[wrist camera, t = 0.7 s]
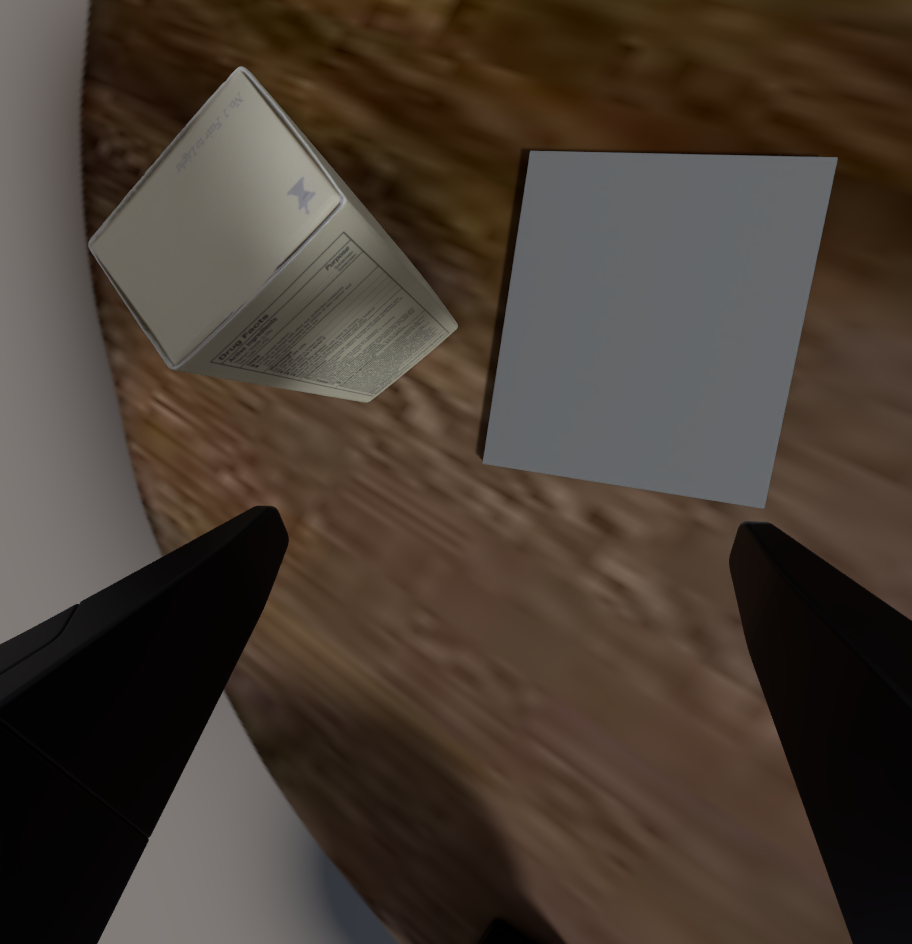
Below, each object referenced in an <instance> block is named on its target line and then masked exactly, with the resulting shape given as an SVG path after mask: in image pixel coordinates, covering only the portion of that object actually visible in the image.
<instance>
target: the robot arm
mask: <svg viewBox="0 0 912 944" xmlns="http://www.w3.org/2000/svg"><path fill="white" fill-rule="evenodd" d="M288 542H289V537H288V533H287V530H286V528H285V526H284V523H283V521H282V518H281V516H280V514H279V511H278V510H277V509H276V508H275V507H273V506H255V507H253V508H251V509H249V510H247V511H245V512H244V513H242V514H240V515H238V516H236V517H234V518H233V519H231V520H229V521H227V522H225V523H223V524H222V525H220V526H218V527H216V528H214V529H213V530H211V531H209V532H207V533H205V534H203V535H202V536H200V537H198V538H196V539H194V540H192V541H191V542H189V543H187V544H185V545H183V546H182V547H180V548H178V549H176V550H174V551H172V552H171V553H169V554H167V555H165V556H163V557H161V558H160V559H158V560H156V561H154V562H152V563H151V564H149V565H147V566H145V567H143V568H141V569H140V570H138V571H136V572H134V573H132V574H131V575H129V576H127V577H125V578H123V579H121V580H119V581H118V582H116V583H114V584H113V585H111V586H109V587H107V588H105V589H103V590H101V591H99V592H98V593H96V594H94V595H92V596H90V597H88V598H87V599H85V600H83V601H81V602H80V604H76V605H74V606H72V607H70V608H68V609H66V610H65V611H63V612H61V613H59V614H57V615H55V616H54V617H52V618H50V619H48V620H46V621H44V622H43V623H41V624H39V625H37V626H35V627H33V628H31V629H29V630H27V631H25V632H24V633H22V634H20V635H18V636H16V637H14V638H12V639H10V640H8V641H6V642H4V643H2V644H0V944H97V943H98V941H99V939H100V937H101V935H102V933H103V931H104V929H105V927H106V925H107V923H108V921H109V919H110V917H111V915H112V913H113V911H114V909H115V907H116V905H117V903H118V901H119V899H120V897H121V895H122V893H123V891H124V889H125V887H126V885H127V883H128V881H129V879H130V877H131V875H132V873H133V871H134V869H135V867H136V865H137V863H138V861H139V859H140V857H141V855H142V853H143V851H144V849H145V847H146V845H147V843H148V841H149V839H148V838H149V837H150V836H151V834H152V832H153V830H154V828H155V826H156V824H157V822H158V820H159V818H160V816H161V814H162V812H163V810H164V808H165V806H166V804H167V802H168V800H169V798H170V796H171V794H172V792H173V790H174V788H175V786H176V784H177V782H178V780H179V778H180V776H181V774H182V772H183V770H184V768H185V766H186V764H187V762H188V760H189V758H190V756H191V754H192V752H193V750H194V748H195V746H196V744H197V742H198V740H199V738H200V736H201V734H202V732H203V730H204V728H205V726H206V724H207V722H208V720H209V718H210V716H211V714H212V712H213V710H214V708H215V706H216V704H217V702H218V700H219V698H220V696H221V694H222V692H223V690H224V688H225V686H226V684H227V682H228V680H229V678H230V676H231V674H232V672H233V670H234V668H235V666H236V664H237V662H238V660H239V658H240V656H241V654H242V652H243V650H244V648H245V646H246V644H247V642H248V640H249V638H250V636H251V634H252V632H253V630H254V628H255V626H256V624H257V622H258V620H259V618H260V616H261V613H262V611H263V609H264V607H265V604H266V602H267V600H268V597H269V595H270V592H271V589H272V587H273V584H274V581H275V579H276V576H277V573H278V571H279V568H280V565H281V563H282V560H283V557H284V555H285V552H286V550H287V547H288ZM729 567H730V572H731V577H732V581H733V586H734V590H735V595H736V599H737V604H738V608H739V613H740V617H741V621H742V626H743V630H744V635H745V639H746V643H747V647H748V650H749V653H750V656H751V659H752V663H753V665H754V668H755V671H756V674H757V677H758V679H759V682H760V685H761V688H762V691H763V693H764V696H765V699H766V702H767V705H768V707H769V710H770V713H771V716H772V719H773V721H774V724H775V727H776V730H777V733H778V735H779V738H780V741H781V744H782V747H783V749H784V752H785V755H786V758H787V761H788V763H789V766H790V769H791V772H792V775H793V777H794V780H795V783H796V786H797V789H798V791H799V794H800V797H801V800H802V803H803V805H804V808H805V811H806V814H807V817H808V819H809V822H810V825H811V828H812V831H813V833H814V836H815V839H816V842H817V845H818V848H819V850H820V853H821V856H822V859H823V862H824V864H825V867H826V870H827V873H828V876H829V878H830V881H831V884H832V887H833V890H834V892H835V895H836V898H837V901H838V904H839V906H840V909H841V912H842V915H843V918H844V920H845V923H846V926H847V929H848V932H849V934H850V937H851V940H852V943H853V944H912V621H911V620H910V619H908V618H907V617H905V616H904V615H903V614H901V613H900V612H898V611H897V610H895V609H894V608H892V607H891V606H890V605H888V604H887V603H885V602H884V601H882V600H881V599H879V598H878V597H877V596H875V595H874V594H872V593H871V592H869V591H868V590H866V589H865V588H864V587H862V586H861V585H859V584H858V583H856V582H855V581H853V580H852V579H851V578H849V577H848V576H846V575H845V574H843V573H842V572H840V571H839V570H838V569H836V568H835V567H833V566H832V565H830V564H829V563H828V562H826V561H825V560H823V559H822V558H820V557H819V556H817V555H816V554H815V553H813V552H812V551H810V550H809V549H807V548H806V547H804V546H803V545H802V544H800V543H799V542H797V541H796V540H794V539H793V538H791V537H790V536H789V535H787V534H786V533H784V532H783V531H781V530H780V529H778V528H777V527H776V526H774V525H773V524H771V523H768V522H752V521H745V522H743V523H741V524H740V526H739V528H738V531H737V534H736V537H735V540H734V543H733V547H732V550H731V553H730V557H729ZM498 932H499V933H502V934H499V933H498ZM478 944H535V943H533V942H532V941H531V940H529V939H528V938H527V937H525V936H524V935H522V934H521V933H520V932H518V931H517V930H516V929H514V928H513V927H511V926H510V925H509V924H507V923H506V922H504V921H502V920H498V919H497V920H494V921H493V922H492V923H491V924H490V926H489V927H488V929H487V930H486V932H485V933H484V935H483V936H482V938H481V939H480V941H479V942H478Z"/></svg>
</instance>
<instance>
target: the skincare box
mask: <svg viewBox="0 0 912 944" xmlns="http://www.w3.org/2000/svg"><path fill="white" fill-rule="evenodd" d="M88 247H89V249H90V251H91V252H92V254H93V255H94V257H95V259H96V260H97V262H98V263H99V265H100V266H101V268H102V269H103V271H104V272H105V274H106V275H107V277H108V278H109V280H110V282H111V283H112V284H113V286H114V287H115V289H116V290H117V292H118V294H119V295H120V297H121V298H122V300H123V301H124V303H125V304H126V306H127V307H128V309H129V310H130V311H131V313H132V315H133V316H134V318H135V319H136V321H137V322H138V324H139V325H140V327H141V328H142V330H143V331H144V333H145V334H146V335H147V337H148V338H149V340H150V341H151V342H152V344H153V345H154V347H155V348H156V350H157V352H158V353H159V354H160V356H161V357H162V359H163V360H164V362H165V363H166V364H167V366H168V367H169V368H170V369H172V370H175V371H182V372H188V373H194V374H200V375H206V376H212V377H217V378H224V379H230V380H236V381H242V382H247V383H253V384H259V385H265V386H271V387H276V388H283V389H289V390H294V391H300V392H306V393H313V394H319V395H324V396H330V397H336V398H342V399H348V400H354V401H360V402H370V401H371V400H372V399H374V398H375V397H376V396H377V395H379V394H380V393H381V392H382V391H384V390H385V389H386V388H388V387H389V386H390V385H391V384H392V383H394V382H395V381H396V380H397V379H399V378H400V377H401V376H402V375H403V374H405V373H406V372H407V371H408V370H410V369H411V368H412V367H413V366H414V365H415V364H417V363H418V362H419V361H420V360H421V359H423V358H424V357H425V356H426V355H427V354H429V353H430V352H431V351H432V350H433V349H435V348H436V347H437V346H438V345H439V344H440V343H442V342H443V341H444V340H445V339H446V338H447V337H448V336H449V335H451V334H452V333H453V332H454V331H455V330H456V329H457V328H458V324H457V322H456V321H455V320H454V318H453V317H452V315H451V314H450V313H449V311H448V310H447V308H446V307H445V306H444V304H443V303H442V301H441V300H440V299H439V297H438V296H437V295H436V293H435V292H434V291H433V289H432V288H431V287H430V285H429V284H428V283H427V281H426V280H425V279H424V278H423V276H422V275H421V274H420V273H419V271H418V270H417V269H416V268H415V266H414V265H413V264H412V263H411V261H410V260H409V259H408V258H407V257H406V255H405V254H404V253H403V252H402V250H401V249H400V248H399V247H398V246H397V245H396V243H395V242H394V241H393V240H392V239H391V237H390V236H389V235H388V234H387V233H386V232H385V230H384V229H383V228H382V227H381V225H380V224H379V223H378V222H377V221H376V219H375V218H374V217H373V216H372V214H371V213H370V212H369V211H368V210H367V209H366V207H365V206H364V205H363V204H362V203H361V201H360V200H359V199H358V198H357V197H356V195H355V194H354V193H353V192H352V191H351V190H350V188H349V187H348V186H347V185H346V184H345V182H344V181H343V180H342V179H341V178H340V176H339V175H338V174H337V173H336V172H335V170H334V169H333V168H332V167H331V166H330V165H329V163H328V162H327V161H326V160H325V159H324V157H323V156H322V155H321V154H320V153H319V152H318V150H317V149H316V148H315V147H314V146H313V144H312V143H311V142H310V141H309V140H308V139H307V137H306V136H305V135H304V134H303V133H302V132H301V130H300V129H299V128H298V127H297V126H296V124H295V123H294V122H293V121H292V120H291V119H290V117H289V116H288V115H287V114H286V113H285V112H284V110H283V109H282V108H281V107H280V106H279V105H278V103H277V102H276V101H275V100H274V99H273V98H272V96H271V95H270V94H269V93H268V92H267V91H266V89H265V88H264V87H263V86H262V85H261V84H260V82H259V81H258V80H257V79H256V78H255V77H254V75H253V74H252V73H251V72H250V71H248V70H247V69H246V68H245V67H241V66H240V67H238V68H237V69H236V70H235V71H234V72H233V73H232V74H231V75H230V76H229V78H228V79H227V80H226V81H225V82H224V83H223V84H222V85H221V86H220V87H219V88H218V90H217V91H216V92H215V93H214V94H213V95H212V96H211V97H210V98H209V99H208V100H207V101H206V103H205V104H204V105H203V106H202V107H201V109H200V110H199V111H198V112H197V113H196V114H195V116H194V117H193V118H192V119H191V120H190V121H189V122H188V123H187V125H186V126H185V128H183V129H182V131H181V132H180V133H179V134H178V135H177V136H176V137H175V139H174V140H173V141H172V142H171V143H170V145H169V146H168V147H167V148H166V149H165V150H164V151H163V152H162V154H161V155H160V157H159V158H158V159H157V160H156V161H155V162H154V164H153V165H152V166H151V167H150V168H149V169H148V170H147V171H146V173H145V175H144V176H142V177H141V179H140V180H139V181H138V182H137V184H136V185H135V186H134V187H133V188H132V189H131V190H130V191H129V193H128V194H127V195H126V196H125V197H124V199H123V200H122V202H121V203H120V204H119V205H118V206H117V208H116V209H115V210H114V211H113V212H112V213H111V215H110V216H109V217H108V218H107V219H106V221H105V222H104V223H103V224H102V225H101V227H100V228H99V229H98V230H97V231H96V233H95V234H94V235H93V236H92V237H91V239H90V241H89V244H88Z"/></svg>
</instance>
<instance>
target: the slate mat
mask: <svg viewBox="0 0 912 944" xmlns="http://www.w3.org/2000/svg"><path fill="white" fill-rule="evenodd" d="M837 159H838V157H793V156H746V155H700V154H654V153H608V152H562V151H530V156H529V163H528V169H527V176H526V182H525V189H524V195H523V202H522V208H521V215H520V222H519V228H518V235H517V241H516V248H515V254H514V261H513V267H512V274H511V281H510V287H509V294H508V300H507V307H506V313H505V320H504V326H503V333H502V339H501V346H500V353H499V359H498V366H497V372H496V379H495V385H494V392H493V398H492V405H491V412H490V418H489V425H488V431H487V438H486V444H485V451H484V457H483V464H488V465H494V466H501V467H507V468H513V469H519V470H526V471H532V472H538V473H544V474H551V475H557V476H563V477H569V478H576V479H582V480H588V481H594V482H601V483H607V484H613V485H619V486H625V487H632V488H638V489H644V490H650V491H657V492H663V493H669V494H675V495H682V496H688V497H694V498H700V499H707V500H713V501H719V502H725V503H732V504H738V505H744V506H750V507H757V508H763V509H764V508H765V503H766V498H767V493H768V489H769V484H770V479H771V474H772V469H773V465H774V460H775V455H776V450H777V446H778V441H779V436H780V431H781V426H782V422H783V417H784V412H785V407H786V403H787V398H788V393H789V388H790V383H791V379H792V374H793V369H794V364H795V360H796V355H797V350H798V345H799V340H800V336H801V331H802V326H803V321H804V317H805V312H806V307H807V302H808V297H809V293H810V288H811V283H812V278H813V274H814V269H815V264H816V259H817V254H818V250H819V245H820V240H821V235H822V231H823V226H824V221H825V216H826V211H827V207H828V202H829V197H830V192H831V188H832V183H833V178H834V173H835V168H836V164H837Z"/></svg>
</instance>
